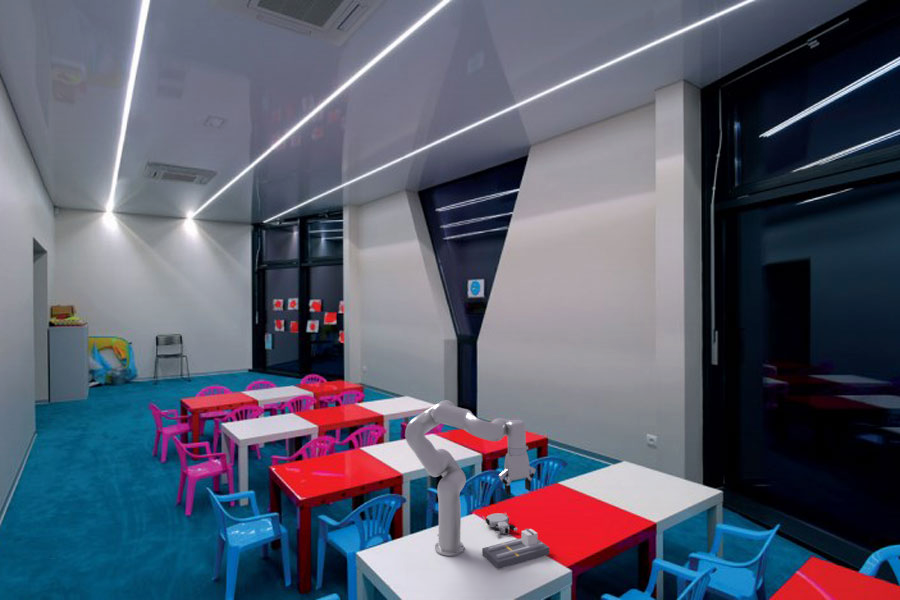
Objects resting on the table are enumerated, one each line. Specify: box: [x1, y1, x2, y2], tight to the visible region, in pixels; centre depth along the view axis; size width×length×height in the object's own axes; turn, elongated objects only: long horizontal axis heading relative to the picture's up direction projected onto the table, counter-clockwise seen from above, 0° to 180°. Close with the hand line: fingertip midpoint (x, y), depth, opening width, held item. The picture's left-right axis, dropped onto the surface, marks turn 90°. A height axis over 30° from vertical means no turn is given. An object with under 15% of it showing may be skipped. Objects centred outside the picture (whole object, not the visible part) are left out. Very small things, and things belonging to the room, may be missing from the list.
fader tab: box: [521, 528, 538, 546], centre depth 205 cm, size 5×5×6 cm
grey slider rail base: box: [481, 537, 550, 570], centre depth 201 cm, size 12×26×4 cm, turn 117°
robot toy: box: [482, 512, 518, 535], centre depth 225 cm, size 12×4×15 cm
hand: (518, 492), depth 198 cm, fingers open, 9 cm apart
